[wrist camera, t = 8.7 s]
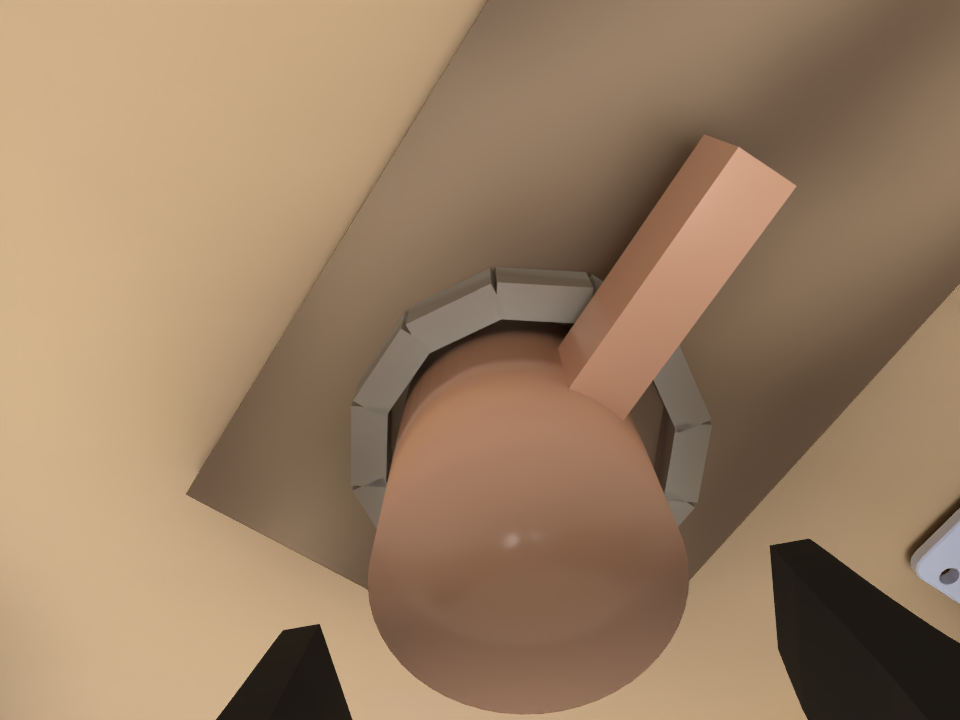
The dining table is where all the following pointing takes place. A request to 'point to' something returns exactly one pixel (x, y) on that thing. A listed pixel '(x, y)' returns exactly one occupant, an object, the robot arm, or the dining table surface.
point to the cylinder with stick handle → (557, 471)
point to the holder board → (623, 245)
